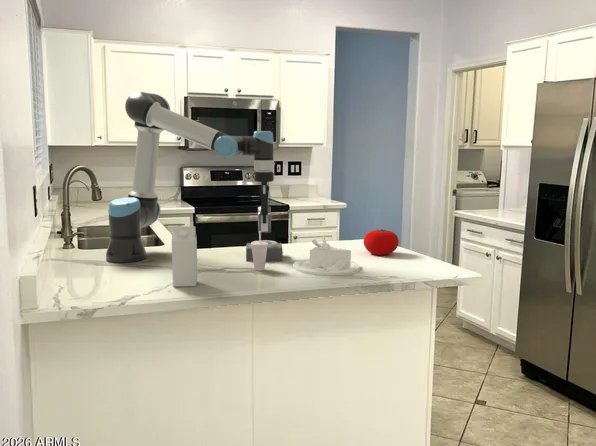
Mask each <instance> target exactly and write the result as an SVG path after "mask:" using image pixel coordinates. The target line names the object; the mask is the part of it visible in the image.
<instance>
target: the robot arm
mask: <svg viewBox="0 0 596 446" xmlns="http://www.w3.org/2000/svg"><path fill="white" fill-rule="evenodd" d="M124 109H125V113H126V114H127V115H126V116H128V117H129V119H131V120H132V121H134V127H135V128H136V130H137V139H136V150H135V159H134V160H135V161H134V172H133V182H132V183H133V184H132V190H131V191H129V192H128V195H127V197H121V198H116V199H113V200H111V201H109V204H108V210H107V211H108V213H107V214H108V225H109V226H108V227H109V243H108V247H107V249H106V253H105V259H106V261H107V262H110V263H132V262H133V263H134V262H139V261H143V260H145V259H146V258H147V251H146V249H145V245H144V243H143V239H142V231H141V230H142V228H145V227H149V226H151V225H153V224H155V223H156V222H157V220H158V219H159V217H160V215H161V206H160V205H161V204H159V202H158V194H157V193H156V192H155V189H156V187H155V186H156V179H157V178H156V177H157V167H158V156H159V147H160V138H161V137H160V136H161V133H162V132H164V131H166V132H167V133H168V132H169V133H171V134H173V135H176V136H178V137H179V138H183V139H186V140H187V141H190V142H192V143H194V144H197V145H198V146H201V147H204V148H206V149H209V150H211V151H212V152H215V153H216V154H217V155H218V156H220V157H224V158H230V157H238V156H239V157H243V156H248V157H250V156H251V157H253V170H254V173H253V174H254V176H253V177H254V178H253V179H254V182H256V183H258V182H261V183H260V184H261V185H259V186H258V191H259V198H260V206H261V213H259V215H261V232H268V204H269V203H268V198H269V195H270V194H269V192H270V186H269V185H268V182H269V183H270V182H274V180H275V178H274V175H275V174H274V166H276V162H274V144H275V142H274V133H273V132H272V131H270V130H255V131H253V135H251V136H249V135H247V136H246V135H245V136H244V135H241V136H240V135H239V136H238V135H229V134H227V133H224V132H222V131H220V130H217V129H215V128H213V127H210V126H207V125H205V124H203V123H201V122H198V121H196V120H193V119H191V118H189V117H187V116H184V115H182V114H179V113H177V112H175V111H172V110H171V106H170V104H169V102H168V100H167V99H166V98H165V97H163V96H162V95H159V94H156V93H151V92H144V91H136V92H133V93H132V94H130V95H129V96H128V97H127V99H126V101H125V107H124Z"/></svg>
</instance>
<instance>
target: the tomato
mask: <svg viewBox="0 0 596 446" xmlns="http://www.w3.org/2000/svg"><path fill="white" fill-rule="evenodd" d="M399 243H400V240H399V237H398V236H397V234H396V233H395V232H393V231H391V230H389V229H388V230H387V229H375V230H370V231H369V232H367V233H366V234H365V236H364V238H363V245H364V248H365V250H367V251H368V252H369V253H370V254H371V255H375V256H387V255H388V256H389V255H390V254H392V253H393V252H395V250H396V249H397V248H398V246H399Z"/></svg>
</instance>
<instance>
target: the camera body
mask: <svg viewBox="0 0 596 446" xmlns="http://www.w3.org/2000/svg"><path fill="white" fill-rule="evenodd" d="M250 242H251V243H252V242H259V240H254V241H250ZM250 242H247V243H246V247H245V260H246V262H253V255H252V247H251V243H250ZM261 242H267V243H268V247H267V254H266V262H283V245H282V244H283V243H282V242H277V241H275V240H267V239H265V240H262V239H261Z"/></svg>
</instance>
